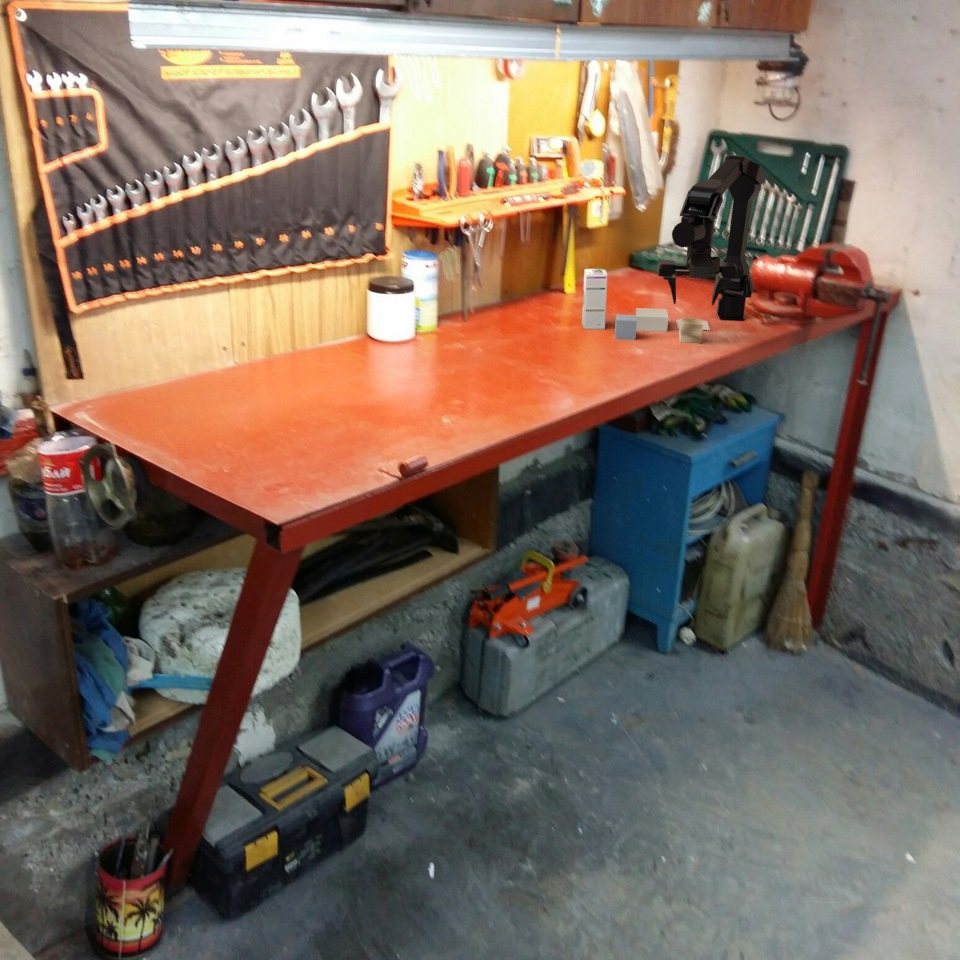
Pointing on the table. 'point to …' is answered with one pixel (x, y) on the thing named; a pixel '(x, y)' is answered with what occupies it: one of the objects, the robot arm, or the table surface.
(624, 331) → the slate-blue cube
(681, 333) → the birch cube
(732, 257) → the robot arm
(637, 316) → the base block
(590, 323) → the syrup box
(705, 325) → the tile
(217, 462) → the table surface
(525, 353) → the table surface
